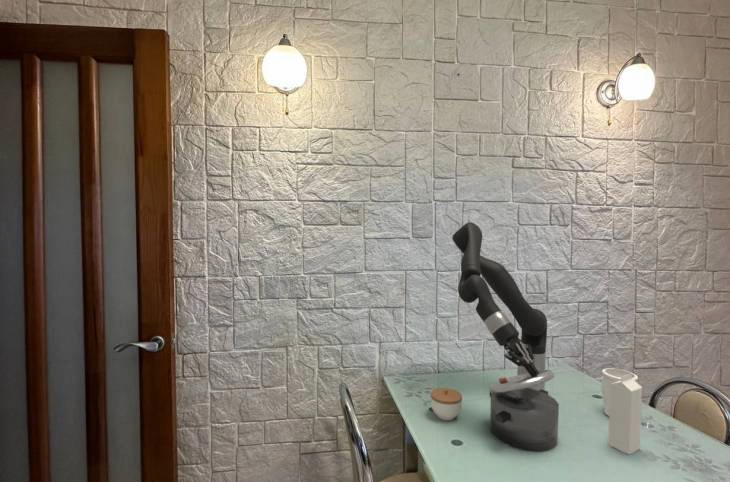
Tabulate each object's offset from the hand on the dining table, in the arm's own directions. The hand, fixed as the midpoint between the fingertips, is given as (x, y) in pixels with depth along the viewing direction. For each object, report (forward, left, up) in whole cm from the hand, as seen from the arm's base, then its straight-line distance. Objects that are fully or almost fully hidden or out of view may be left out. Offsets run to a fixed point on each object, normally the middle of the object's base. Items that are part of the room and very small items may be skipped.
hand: (536, 375), depth 119 cm
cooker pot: (-4, -1, -20) cm, 20 cm away
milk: (+14, +21, -20) cm, 33 cm away
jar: (+1, +39, -20) cm, 44 cm away
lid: (-5, -1, -4) cm, 6 cm away
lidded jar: (-23, -17, -20) cm, 35 cm away
